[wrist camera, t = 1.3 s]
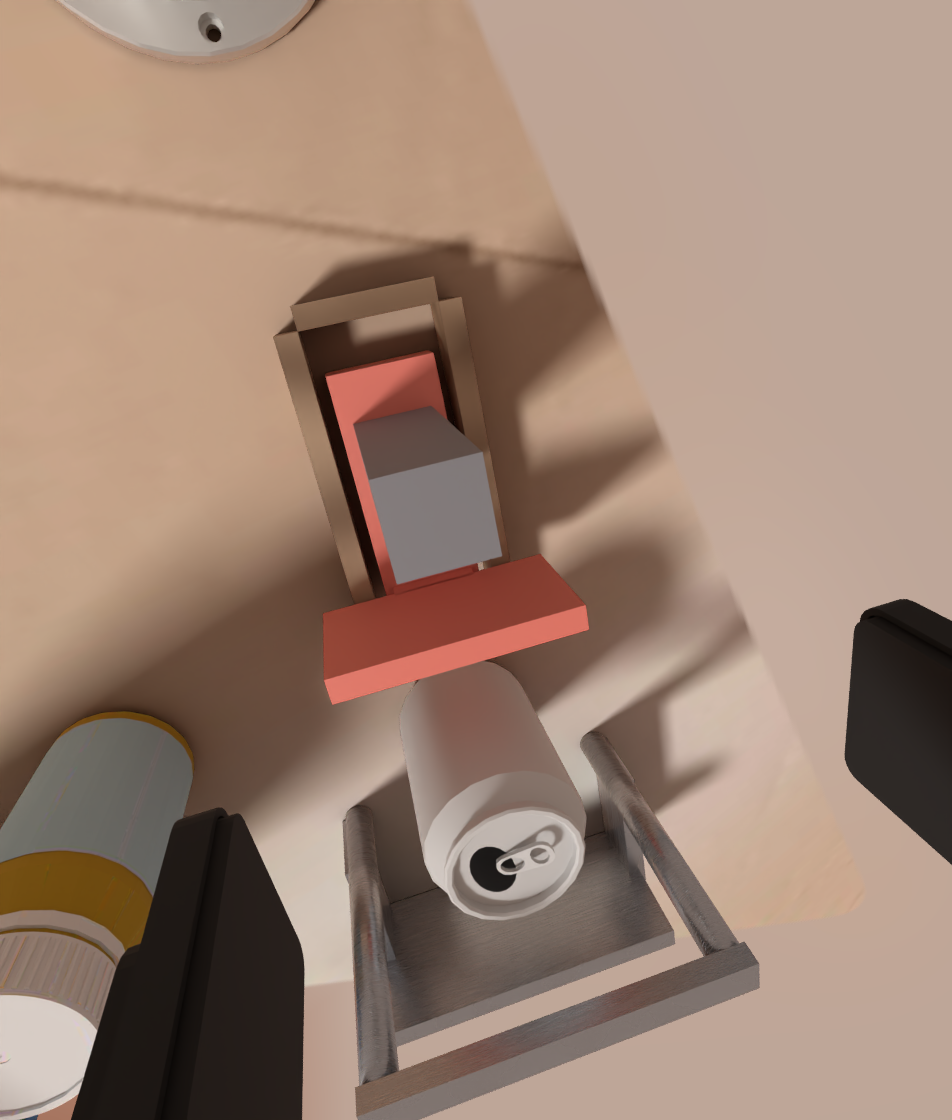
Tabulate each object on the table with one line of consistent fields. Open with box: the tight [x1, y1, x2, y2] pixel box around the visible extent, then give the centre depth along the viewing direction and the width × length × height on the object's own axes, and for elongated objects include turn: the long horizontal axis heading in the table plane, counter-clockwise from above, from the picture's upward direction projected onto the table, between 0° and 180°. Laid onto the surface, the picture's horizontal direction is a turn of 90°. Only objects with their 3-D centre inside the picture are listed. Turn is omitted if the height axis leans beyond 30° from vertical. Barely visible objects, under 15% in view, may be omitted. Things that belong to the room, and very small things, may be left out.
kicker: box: [323, 350, 589, 705], centre depth 26 cm, size 12×11×12 cm
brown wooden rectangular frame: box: [273, 276, 510, 605], centre depth 30 cm, size 16×8×2 cm, turn 11°
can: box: [400, 661, 587, 920], centre depth 32 cm, size 8×8×12 cm
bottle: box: [0, 711, 194, 1120], centre depth 27 cm, size 7×7×15 cm
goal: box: [343, 732, 759, 1120], centre depth 34 cm, size 10×17×16 cm, turn 101°
